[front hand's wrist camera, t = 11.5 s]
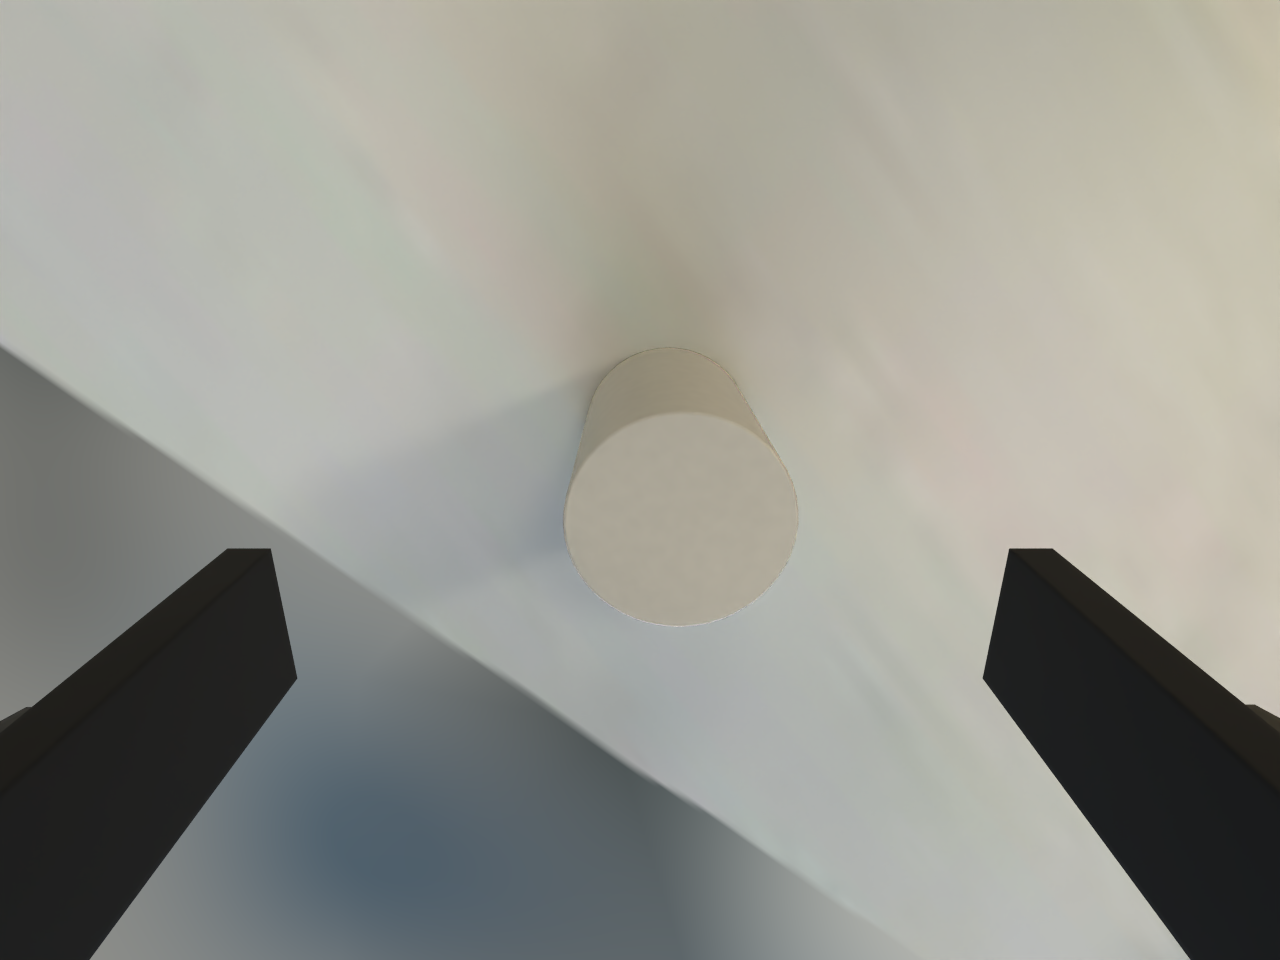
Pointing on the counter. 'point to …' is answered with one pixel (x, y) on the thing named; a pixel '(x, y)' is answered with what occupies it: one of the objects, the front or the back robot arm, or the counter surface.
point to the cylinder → (677, 494)
